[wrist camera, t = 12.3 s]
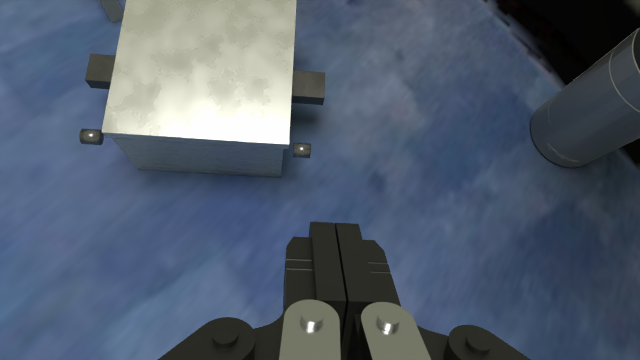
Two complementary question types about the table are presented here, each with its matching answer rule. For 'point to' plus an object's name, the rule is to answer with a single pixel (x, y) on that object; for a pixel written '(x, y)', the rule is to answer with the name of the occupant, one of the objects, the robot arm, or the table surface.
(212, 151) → the grey rectangular box
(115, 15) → the lighter
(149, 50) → the lid
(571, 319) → the table surface
